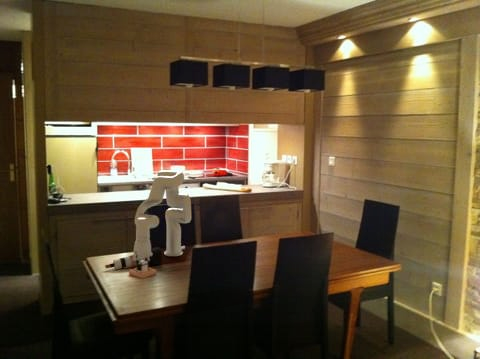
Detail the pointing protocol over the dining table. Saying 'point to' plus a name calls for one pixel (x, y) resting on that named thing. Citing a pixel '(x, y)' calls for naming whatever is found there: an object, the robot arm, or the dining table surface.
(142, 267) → the block
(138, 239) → the robot arm
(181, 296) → the dining table surface
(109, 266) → the striped tapered cylinder
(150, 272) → the dish
